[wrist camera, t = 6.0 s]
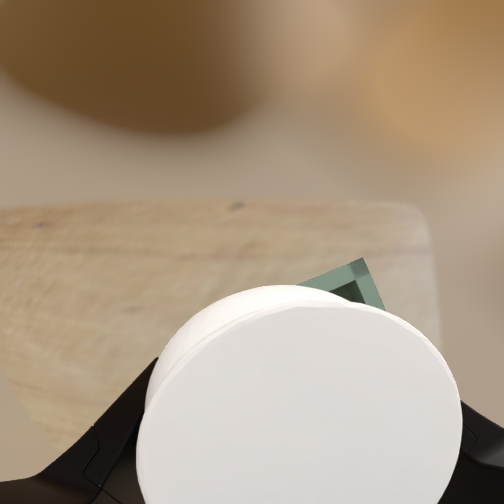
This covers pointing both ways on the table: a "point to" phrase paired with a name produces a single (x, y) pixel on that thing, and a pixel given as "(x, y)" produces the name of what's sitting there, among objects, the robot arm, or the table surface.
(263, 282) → the table surface
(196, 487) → the supplement bottle
